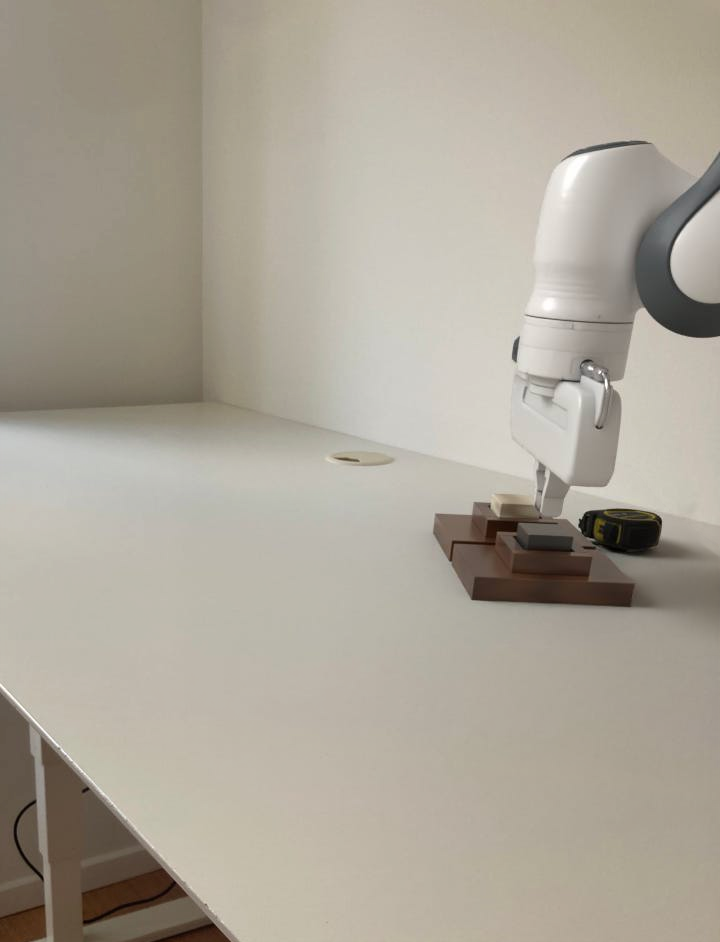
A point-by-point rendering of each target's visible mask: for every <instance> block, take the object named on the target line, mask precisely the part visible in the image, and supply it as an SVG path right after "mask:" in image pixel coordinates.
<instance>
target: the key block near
mask: <svg viewBox="0 0 720 942" xmlns="http://www.w3.org/2000/svg"><path fill="white" fill-rule="evenodd" d="M516 534H517V532H497V536H496V543H495V545H474V544H454V548H453V556H452V562H451V567H452V569H453V571H454V572H455V573H456V575H457V577H458V579H459V581H460V582H461V584H462V587H464V589H465V591H466V593H467V595H468V596H469V598H470V600H471V601H483V602H484V601H487V602H509V603H529V604H553V605H554V604H556V605H576V606H597V607H598V606H601V607H622V608H623V607H624V608H630V607H631V606H632V600H633V596H634V590H635V585H636V583H635V582H633V580H632V579H630V577H628V576H627V575H626V573H624V572H623V571H622V570H621V569H620V568H619V567H618V566H617V565H616V564H615V563H614V562H612V560H610V558H608V557H607V556H606V555H605V554H604V553H603V552H602V551H601V550H600V549H595V550H589V549H584V548H583V547H582V546H581V545H580V544H579V543H578V542H577V541H576V540H575V539H573V543H572V549H571V552H558V551H535V550H524V549H523V548H522V547H521V546H520V545H519V543H518V542H517V541H516Z"/></svg>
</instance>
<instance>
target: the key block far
mask: <svg viewBox="0 0 720 942" xmlns="http://www.w3.org/2000/svg"><path fill="white" fill-rule="evenodd" d="M490 508H491V502H484V501H473V504H472V510H471V511H472V512H471V514H457V513H434V521H433V527H432V534H433V536H434V537H435V539H436V541H437V543H438V544H439V546H440V548H441V549H442V552H443V553H444V555H445V557H446V558H447V560H448V562H449V563H452V556H453V548H454V544H474V545H495V543H496V536H497V532H517V528H518V523H536V524H559V525H562V526H563V527H564V528H565V529H566V530H567V531H568V532H569V533H570V534H571V535H572V536H573V539H575V540H576V541H577V542H578V543H579V544H580V545H581V546H582V547H583V548H584V549H589V550H597V547H596V545H595V544H594V543H593V542H591V540H590V539H589V538H587V537H585V536H584V535H583V534H582V533H581V530H579V528H577V527H576V526H575V525H574V524H573V523H572V522H570V520H569V519H567V518H555V517H544V516H543V515H542V514H541V513H540V517H539V519H530V518H507V517H497V516H496V515H495V514H494V513H493V512H492V510H491V509H490Z"/></svg>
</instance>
